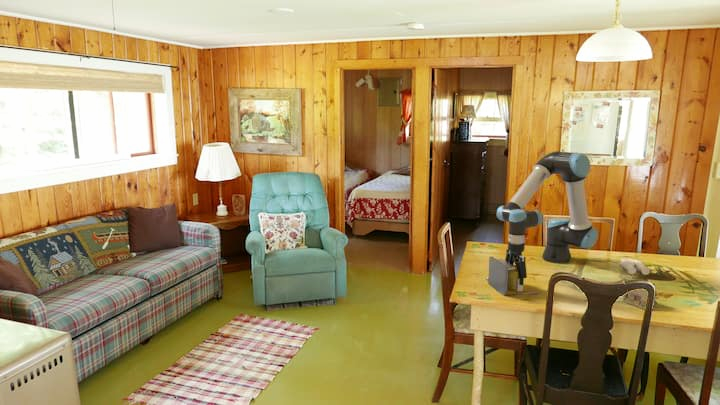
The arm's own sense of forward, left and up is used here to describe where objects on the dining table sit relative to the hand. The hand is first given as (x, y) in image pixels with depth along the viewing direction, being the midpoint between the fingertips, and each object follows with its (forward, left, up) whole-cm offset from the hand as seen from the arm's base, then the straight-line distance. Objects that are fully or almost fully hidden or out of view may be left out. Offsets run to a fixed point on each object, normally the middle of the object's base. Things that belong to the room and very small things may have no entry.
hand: (514, 286), depth 240 cm
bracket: (0, 0, -1) cm, 1 cm away
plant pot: (0, 0, -1) cm, 1 cm away
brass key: (+4, -14, -1) cm, 15 cm away
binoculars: (-74, -9, -1) cm, 74 cm away
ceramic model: (-44, +30, -1) cm, 54 cm away
